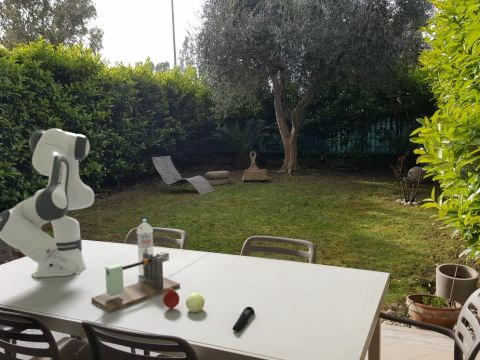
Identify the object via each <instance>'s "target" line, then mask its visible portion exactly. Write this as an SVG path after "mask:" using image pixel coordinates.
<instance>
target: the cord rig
mask: <svg viewBox="0 0 480 360" xmlns="http://www.w3.org/2000/svg"><path fill="white" fill-rule="evenodd" d="M169 255H170V253H169V251H162V252H157V253H155V254H154V255H153V254H151V253H150V254H148V252H144V253H143V260H142V261H141V262H138V261H137V262H136V263H132V264H127V265H124V266H123V271H124V270H129V269H131V268H134V267H139V265H142V264H143V271H144V277H143V280H142V281H139V282H136V283H133V284H129V285H126V286H124V292H123V293H120V294H117V295H114V296H110V295H108V294H107V292H105V293H102V294H98V295H96V296H93V297H91V299H90V300H91V303H93V304H95V305H96V306H98V307H100V308H102V309H103V310H105V311H107V312H108V313H110V314H111V313H114V312H116V311H119V310H122V309H124V308H128V307H129V306H133V305H136V304H137V303H138V304H139V303H140V302H143V301H146V300H148V299H151V298H152V299H153V298H155V297H157V296H160V295H162V294H163V295H164V294H165V293H166V292H167V291H168V290H169V288H170V287H171V288H172V289H173V290H176V289H180V287H181V283H179V282H176V281H175V280H171V279H169V278H166V277H164V272H163V271H164V267H163V263H165V262H168V261H170V256H169ZM108 273H109V271H108Z"/></svg>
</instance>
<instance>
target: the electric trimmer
mask: <svg viewBox="0 0 480 360" xmlns="http://www.w3.org/2000/svg"><path fill="white" fill-rule="evenodd" d="M252 315H255V309H254V308H253V307H251V306H246V307H245V308H244V309H243V311H242V312H241V313H240V315H239V317H238V319H237V320H236V322H235V324H234V325H233V327H232V331H234V330H235V331H237V332H240V331H241V330H242V329H244V328H245V327H246V326H247V325H248V321H249V319H250V318H251V316H252ZM246 324H247V325H246ZM245 325H246V326H245ZM244 326H245V327H244ZM243 327H244V328H243Z"/></svg>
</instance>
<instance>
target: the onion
mask: <svg viewBox="0 0 480 360" xmlns="http://www.w3.org/2000/svg"><path fill="white" fill-rule="evenodd" d="M180 299H181V298H180V295H179V293H178V292H177V290H176V289H172V288H171V287H170V288H169V290H168V291H167V292H165V293H163V297H162V303H163V304H164V306H165V307H166V308H167V309H169V310H174V309H175V308H176V307H177V306H178V305H179V303H180Z"/></svg>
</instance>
